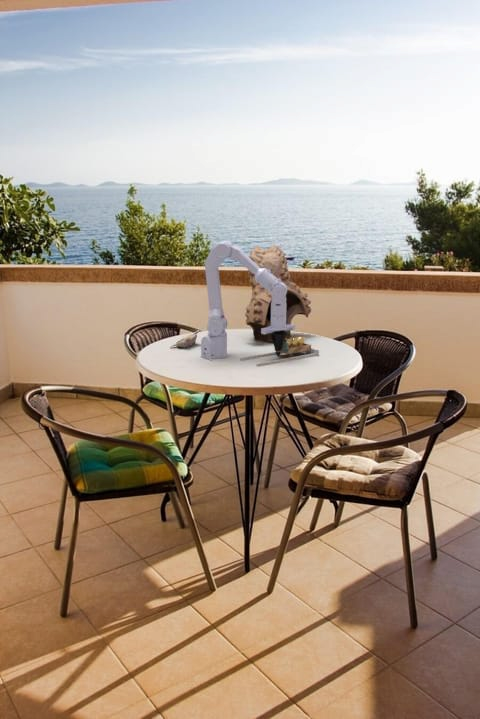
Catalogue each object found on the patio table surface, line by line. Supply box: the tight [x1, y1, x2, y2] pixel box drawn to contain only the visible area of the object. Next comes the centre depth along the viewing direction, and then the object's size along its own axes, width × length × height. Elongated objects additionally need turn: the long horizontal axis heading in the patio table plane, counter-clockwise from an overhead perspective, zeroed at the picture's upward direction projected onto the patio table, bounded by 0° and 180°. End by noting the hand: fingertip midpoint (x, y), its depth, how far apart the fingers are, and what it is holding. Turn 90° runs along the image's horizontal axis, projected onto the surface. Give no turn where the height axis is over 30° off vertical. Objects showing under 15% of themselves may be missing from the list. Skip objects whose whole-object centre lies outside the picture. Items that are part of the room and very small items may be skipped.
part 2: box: [290, 336, 298, 348], centre depth 253 cm, size 3×3×4 cm
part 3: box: [295, 335, 305, 347], centre depth 255 cm, size 3×3×4 cm
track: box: [239, 347, 320, 367], centre depth 251 cm, size 29×12×3 cm, turn 126°
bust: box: [244, 244, 312, 344], centre depth 281 cm, size 34×18×40 cm, turn 130°
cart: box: [274, 342, 312, 358], centre depth 254 cm, size 12×9×6 cm
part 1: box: [284, 338, 291, 348], centre depth 252 cm, size 3×3×4 cm
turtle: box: [169, 329, 200, 349], centre depth 272 cm, size 16×10×10 cm, turn 3°
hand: (277, 350), depth 250 cm, fingers closed
